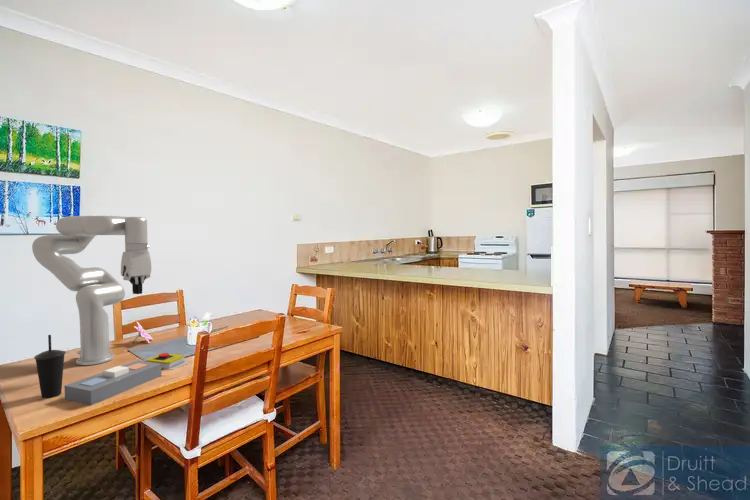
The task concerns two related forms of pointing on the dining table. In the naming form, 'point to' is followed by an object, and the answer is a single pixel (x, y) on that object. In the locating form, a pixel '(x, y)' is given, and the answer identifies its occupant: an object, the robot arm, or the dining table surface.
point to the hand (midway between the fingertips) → (137, 293)
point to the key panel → (111, 384)
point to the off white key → (116, 371)
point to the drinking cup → (50, 371)
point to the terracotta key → (137, 366)
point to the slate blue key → (93, 382)
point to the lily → (142, 333)
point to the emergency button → (168, 360)
